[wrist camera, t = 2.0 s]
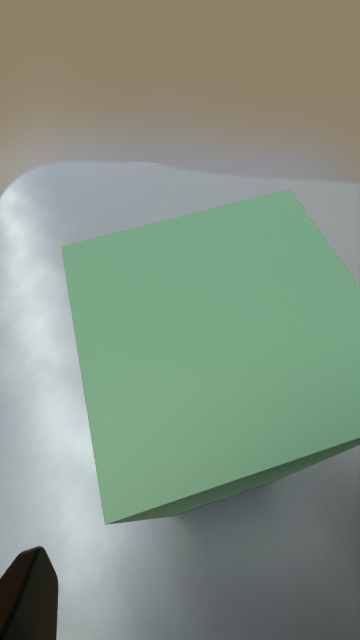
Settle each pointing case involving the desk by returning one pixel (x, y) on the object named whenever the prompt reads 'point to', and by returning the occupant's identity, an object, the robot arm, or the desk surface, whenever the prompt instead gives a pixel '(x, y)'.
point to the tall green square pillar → (213, 354)
